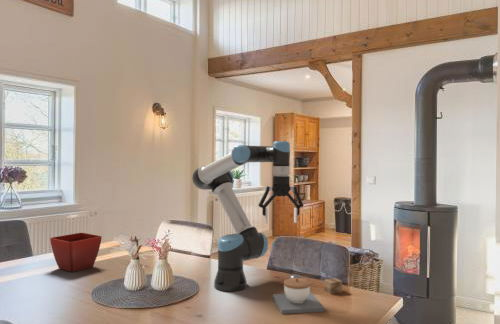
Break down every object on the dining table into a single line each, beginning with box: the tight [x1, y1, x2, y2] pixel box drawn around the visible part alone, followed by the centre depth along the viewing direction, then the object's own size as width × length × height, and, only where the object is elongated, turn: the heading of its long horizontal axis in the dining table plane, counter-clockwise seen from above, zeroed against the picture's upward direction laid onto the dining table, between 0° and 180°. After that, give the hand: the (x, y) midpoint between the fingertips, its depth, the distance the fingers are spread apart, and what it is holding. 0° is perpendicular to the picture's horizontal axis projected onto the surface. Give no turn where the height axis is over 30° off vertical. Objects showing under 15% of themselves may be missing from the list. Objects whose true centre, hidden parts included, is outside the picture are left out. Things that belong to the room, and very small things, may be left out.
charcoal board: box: [272, 292, 325, 315], centre depth 156 cm, size 17×17×2 cm
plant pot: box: [49, 232, 102, 273], centre depth 208 cm, size 19×19×17 cm
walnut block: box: [323, 278, 343, 295], centre depth 172 cm, size 6×5×5 cm
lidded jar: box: [283, 277, 311, 304], centre depth 156 cm, size 11×11×9 cm
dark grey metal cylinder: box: [289, 273, 302, 279], centre depth 172 cm, size 5×5×7 cm
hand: (280, 222), depth 173 cm, fingers open, 13 cm apart
